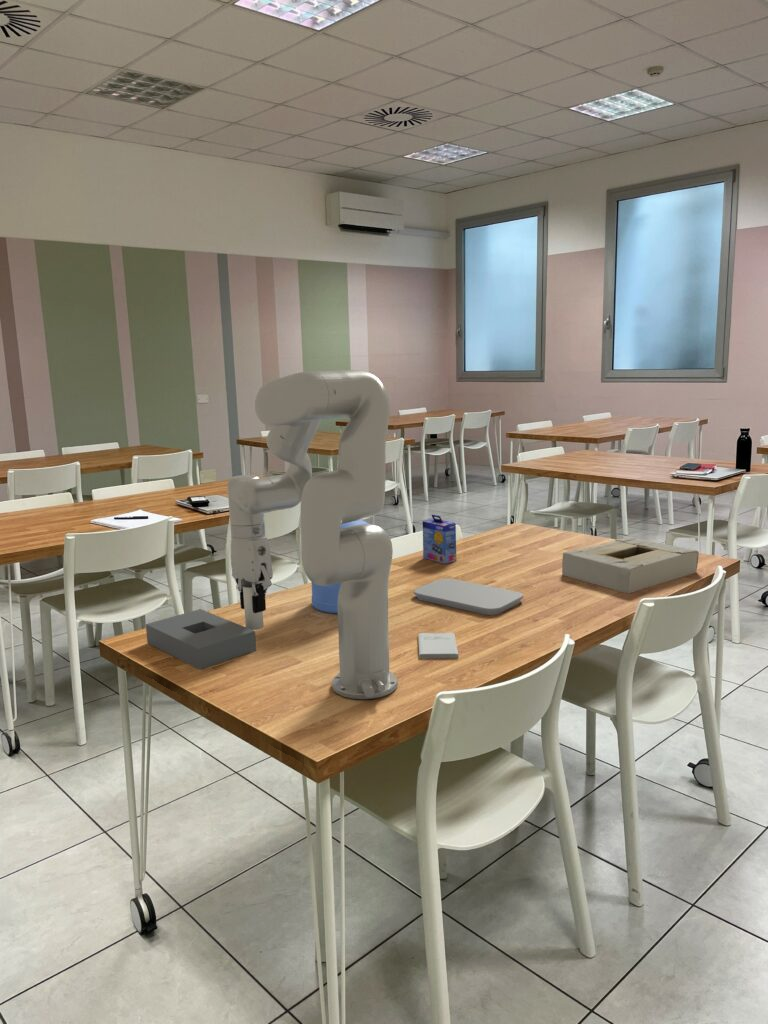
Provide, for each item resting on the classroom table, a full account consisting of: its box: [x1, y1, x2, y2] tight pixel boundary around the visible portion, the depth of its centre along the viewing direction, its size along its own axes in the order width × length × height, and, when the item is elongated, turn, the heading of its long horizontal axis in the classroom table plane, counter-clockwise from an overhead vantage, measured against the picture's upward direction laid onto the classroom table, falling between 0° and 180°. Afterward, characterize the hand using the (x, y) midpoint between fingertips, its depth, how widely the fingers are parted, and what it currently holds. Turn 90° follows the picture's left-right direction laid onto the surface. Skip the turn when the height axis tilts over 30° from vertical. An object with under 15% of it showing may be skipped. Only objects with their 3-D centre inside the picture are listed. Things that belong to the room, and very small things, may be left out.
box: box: [561, 536, 699, 594], centre depth 216 cm, size 23×8×32 cm
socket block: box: [145, 608, 257, 670], centre depth 167 cm, size 22×14×4 cm, turn 45°
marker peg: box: [242, 578, 264, 631], centre depth 172 cm, size 4×4×12 cm
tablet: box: [413, 577, 524, 616], centre depth 197 cm, size 16×26×2 cm, turn 51°
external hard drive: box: [417, 632, 459, 659], centre depth 165 cm, size 2×8×12 cm
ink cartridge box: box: [422, 514, 457, 565], centre depth 235 cm, size 10×6×14 cm, turn 42°
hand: (253, 608), depth 172 cm, fingers closed on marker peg, 4 cm apart
